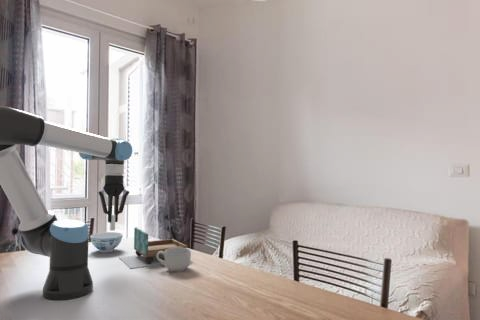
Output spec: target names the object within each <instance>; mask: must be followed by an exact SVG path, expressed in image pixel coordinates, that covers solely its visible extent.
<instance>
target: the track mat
mask: <svg viewBox="0 0 480 320" xmlns="http://www.w3.org/2000/svg"><path fill="white" fill-rule="evenodd" d="M145 258H146V257H144V256H143V255H141V256H138V255H136V254H135V255H129V256H128V255H126V256H119V258H118V259H119V260H121V261H122V262H123V263H124V265H126V266H127V267H128V268H129V269H130V270H132V269H138V268H144V267H152V266H158V265H159V266H160V265H163V263H161V262H160V261H158V260H157V257H156V256H153V257H152V258H153V261H152V263H147V262H146V261H145ZM159 258H160V259H161V260H163V261H165V258H164V255H160V256H159Z"/></svg>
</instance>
